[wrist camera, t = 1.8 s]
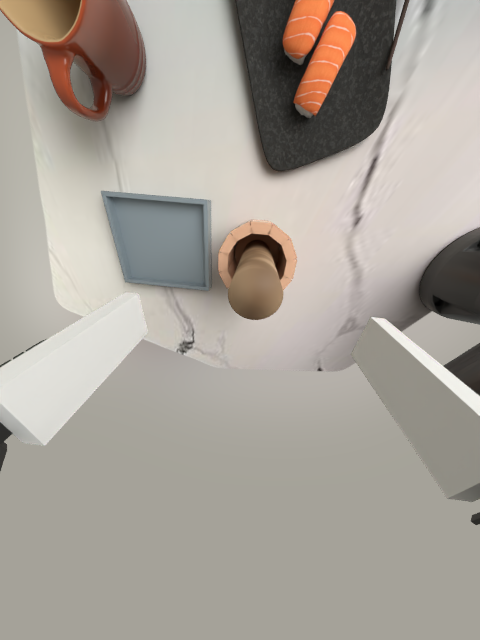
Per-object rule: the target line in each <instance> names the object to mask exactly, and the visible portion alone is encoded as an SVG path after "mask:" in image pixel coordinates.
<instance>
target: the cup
mask: <svg viewBox="0 0 480 640" xmlns="http://www.w3.org/2000/svg"><path fill="white" fill-rule="evenodd" d="M238 240H239V241H238ZM253 240H262V241H264V242H265V243H266V244H267V245H268V246H269V249H270V252H271V255H272V258H273V261H274V264H275V267H276V270H277V273H278V276H279V279H280V282H281V285H282V288H283V290H284V289H285V288H286V287H287V285H288V284H289V283H290V282H291V281H292V280H291V279H293V276H294V271H295V267H296V263H297V259H296V258H297V256H296V253H295V250H294V247H293V243H292V240H291V238H290V237H289V236H288V235H287V234H286V233H284V232H283V231H282V230H281V229H280V228H278V227H277V226H276V225H275V224H273V223H272V222H269V221H265V220H254V219H253V220H250V221H248V222H246V223H245V224H243V225H241V226H239V227H237V228H236V229H234V230H233V231H231V232H230V233H229V234H228V236H227V238H226V239H225V241H224V243H223V245H222V246H221V248H220V250H219V251H220V252H219V254H218V271H220V272H219V275H220V276H221V278H222V280H223V282H224V284H225V286H226V288H229V286H230V284H231V281H232V279H233V276H234V274H235V271H236V269H237V266H238V264H239V261H240V259H241V256H242V254H243V251H244V249H245V247H246V245H247V244H248V243H249V242H251V241H253ZM237 242H238V243H237ZM236 244H237V245H236ZM278 246H279V247H278ZM228 290H229V289H228Z"/></svg>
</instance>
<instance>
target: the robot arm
mask: <svg viewBox="0 0 480 640" xmlns="http://www.w3.org/2000/svg"><path fill="white" fill-rule="evenodd" d="M420 298H421V301H422V302H423V304H424V305H425V306H426V307H427V308H428V309H430V310H432V311H434V312H435V313H437V314H439V315H441V316H444V317H446V318H450V319H455V320H460V321H465V322H470V323H475V324H480V228H478V229H476V230H473V231H471V232H469V233H467V234H465V235H464V236H462V237H460V238H459V239H457V240H456V241H454V242H453V243H451V244H450V245H449V246H448V247H446V248H445V249H444V250H443V251H442V252H441V253H440V254H439V255H438V256H437V257H436V258H435V259H434V260H433V261H432V263H431V264H430V265H429V267H428V268H427V270H426V272H425V273H424V275H423V278H422V280H421V284H420ZM147 333H148V330H147V326H146V322H145V317H144V313H143V309H142V305H141V301H140V296H139V293H131V292H125V293H123V294H122V295H120V296H118V297H117V298H115V299H113V300H112V301H110V302H108V303H107V304H105V305H103V306H102V307H100V308H98V309H97V310H95V311H93V312H92V313H90V314H88V315H87V316H85V317H83V318H82V319H80V320H79V321H77V322H75V323H73V324H72V325H70V326H68V327H67V328H65V329H63V330H62V331H60V332H58V333H57V334H55V335H53V336H52V337H50V338H48V339H46V340H43V341H41V342H39V343H38V344H36V345H34V346H32V347H31V348H29V349H27V350H26V352H22V353H21V354H19V355H17V356H15V357H14V358H13V360H9V361H7V362H5V363H4V364H2V365H0V471H1V467H2V464H3V461H4V458H5V455H6V452H7V444H6V443H4V441H5V440H6V439H7V438H8V437H9V436H10V435H11V434H13V435H14V436H16V437H17V438H18V439H19V440H20V441H21V442H22V443H27V444H35V445H43V446H45V445H46V444H47V443H48V442H49V441H50V439H51V438H52V437H53V436H54V435H55V434H56V433H57V432H58V431H59V430H60V428H61V427H62V426H63V425H64V424H65V423H66V422H67V421H68V420H69V419H70V418H71V416H72V415H73V414H74V413H75V412H76V411H77V410H78V409H79V408H80V407H81V405H82V404H83V403H84V402H85V401H86V400H87V399H88V398H89V397H90V396H91V394H92V393H93V392H94V391H95V390H96V389H97V388H98V387H99V386H100V384H101V383H102V382H103V381H104V380H105V379H106V378H107V377H108V376H109V375H110V374H111V373H112V371H113V370H114V369H115V368H116V367H117V366H118V365H119V364H120V362H122V360H123V359H124V358H125V357H126V356H127V355H128V354H129V353H130V352H131V351H132V350H133V348H134V347H135V346H136V345H137V344H138V343H139V342H140V341H141V340H142V339H143V337H144V336H145V335H146V334H147ZM351 356H352V357H353V358H354V360H355V361H356V363H357V364H358V366H359V367H360V369H361V370H362V372H363V373H364V375H365V376H366V378H367V379H368V381H369V382H370V384H371V385H372V387H373V388H374V390H375V391H376V393H377V394H378V396H379V397H380V399H381V400H382V402H383V403H384V405H385V406H386V408H387V409H388V411H389V412H390V414H391V415H392V417H393V418H394V420H395V421H396V423H397V424H398V426H399V427H400V429H401V430H402V432H403V433H404V435H405V436H406V438H407V439H408V441H409V442H410V444H411V445H412V447H413V448H414V450H415V451H416V453H417V454H418V456H419V457H420V459H421V460H422V462H423V463H424V464H425V466H426V468H427V469H428V470H429V472H430V474H431V475H432V477H433V478H434V480H435V481H436V483H437V484H438V486H439V487H440V489H441V490H442V491H443V493H444V495H445V496H446V498H447V499H455V500H462V501H469V502H473V501H476V500H478V499H480V343H479V344H477V345H476V346H474V347H472V348H471V349H469V350H468V351H466V352H465V353H463V354H462V355H460V356H458V357H457V358H455V359H454V360H452V361H450V362H449V363H447V364H445V365H444V366H442V365H441V364H440V363H438V362H437V361H436V360H435V359H434V358H432V357H431V356H430V355H429V354H428V353H426V352H425V351H424V350H423V349H421V348H420V347H419V346H418V345H417V344H415V343H414V342H413V341H411V340H410V339H409V338H408V337H407V336H405V335H404V334H403V333H402V332H401V331H399V330H398V329H397V328H396V327H395V326H393V325H392V324H391V323H390V322H388V321H387V320H386V319H385V318H375V317H370V319H369V321H368V323H367V325H366V327H365V329H364V331H363V333H362V334H361V336H360V338H359V340H358V342H357V344H356V346H355V348H354V349H353V351H352V353H351ZM471 522H472V523H474V524H475V525H478V524H480V513H477V514H474V515H472V518H471Z"/></svg>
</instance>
